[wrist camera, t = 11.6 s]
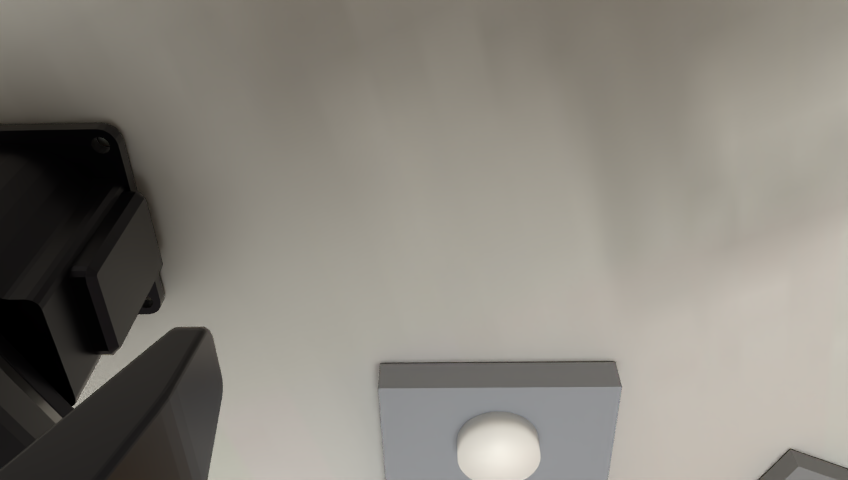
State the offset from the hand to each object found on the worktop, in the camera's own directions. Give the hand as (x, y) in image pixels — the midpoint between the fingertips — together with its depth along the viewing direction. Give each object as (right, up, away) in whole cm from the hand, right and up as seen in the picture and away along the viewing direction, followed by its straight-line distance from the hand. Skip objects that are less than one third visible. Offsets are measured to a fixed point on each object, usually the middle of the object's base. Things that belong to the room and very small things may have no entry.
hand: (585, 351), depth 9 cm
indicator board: (+1, -9, +21) cm, 23 cm away
